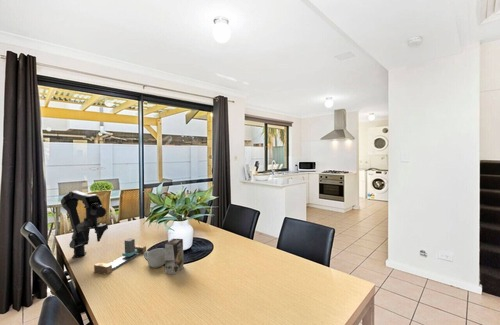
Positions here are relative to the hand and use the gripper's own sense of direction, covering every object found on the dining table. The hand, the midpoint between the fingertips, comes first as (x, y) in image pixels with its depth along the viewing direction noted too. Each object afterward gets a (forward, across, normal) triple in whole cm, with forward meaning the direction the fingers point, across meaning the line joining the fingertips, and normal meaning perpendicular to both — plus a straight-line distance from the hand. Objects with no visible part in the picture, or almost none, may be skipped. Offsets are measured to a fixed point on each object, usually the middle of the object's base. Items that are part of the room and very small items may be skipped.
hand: (92, 240), depth 146 cm
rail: (+12, +19, +3) cm, 22 cm away
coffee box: (+12, +56, +2) cm, 57 cm away
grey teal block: (+10, +19, +9) cm, 23 cm away
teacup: (+12, +41, +4) cm, 43 cm away
